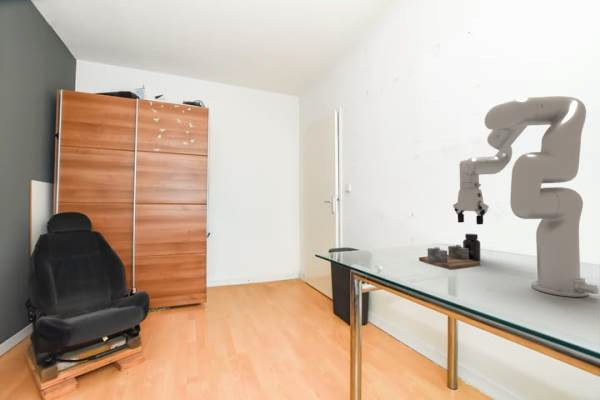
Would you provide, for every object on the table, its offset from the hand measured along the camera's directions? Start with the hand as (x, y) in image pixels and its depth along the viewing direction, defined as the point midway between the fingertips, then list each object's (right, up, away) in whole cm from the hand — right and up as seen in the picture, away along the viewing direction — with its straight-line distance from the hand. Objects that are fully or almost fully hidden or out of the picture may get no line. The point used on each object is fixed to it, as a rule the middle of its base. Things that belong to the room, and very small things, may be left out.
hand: (470, 223), depth 125 cm
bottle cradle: (-13, -17, -5) cm, 22 cm away
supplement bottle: (+1, -17, -1) cm, 17 cm away
